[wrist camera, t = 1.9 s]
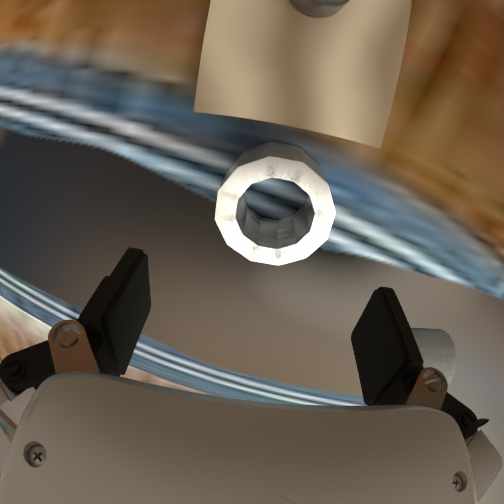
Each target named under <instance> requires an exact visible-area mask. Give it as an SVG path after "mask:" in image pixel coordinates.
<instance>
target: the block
mask: <svg viewBox="0 0 504 504" xmlns="http://www.w3.org/2000/svg"><path fill="white" fill-rule="evenodd" d="M411 4H412V0H350V1H349V2H348V3H347V4H345V5H344V6H343V7H342V8H341V9H340V10H339V11H338V12H337V13H336V14H334V15H332V16H330V17H325V18H314V17H309V16H306V15H304V14H302V13H300V12H299V11H297V10H296V9H295V8H294V7H293V6H292V5H291V3H290V2H289V0H211V2H210V7H209V13H208V18H207V23H206V29H205V35H204V41H203V47H202V53H201V60H200V66H199V73H198V81H197V88H196V96H195V104H194V112H199V113H209V114H217V115H225V116H233V117H240V118H247V119H253V120H259V121H265V122H271V123H276V124H282V125H287V126H292V127H297V128H301V129H306V130H310V131H315V132H319V133H323V134H328V135H332V136H336V137H340V138H343V139H347V140H351V141H355V142H358V143H362V144H365V145H369V146H372V147H375V148H379V149H381V145H382V142H383V138H384V134H385V131H386V127H387V123H388V119H389V116H390V112H391V108H392V104H393V100H394V95H395V91H396V87H397V82H398V78H399V73H400V68H401V63H402V58H403V53H404V48H405V42H406V37H407V31H408V25H409V18H410V11H411Z"/></svg>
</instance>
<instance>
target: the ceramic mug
mask: <svg viewBox="0 0 504 504" xmlns="http://www.w3.org/2000/svg"><path fill="white" fill-rule="evenodd" d="M411 330H412V333H413V335H414V338H415V340H416V343H417V345H418V348H419V350H420V353H421V356H422V358H423V361H424V363H423V367H424V368H426V367H433V368H436V369H438V370H439V371H440V372H442V373H443V375H444V376H445V378H446V380H447V383H448V386H449V384H450V382H451V380H452V378H453V375H454V372H455V366H456V351H455V346H454V343H453V340H452V338H451V337H450V335H449V334H448V333H447V332H446V331H444V330H441V329H425V328H411Z"/></svg>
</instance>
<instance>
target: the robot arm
mask: <svg viewBox="0 0 504 504" xmlns="http://www.w3.org/2000/svg"><path fill="white" fill-rule="evenodd" d="M150 308H151V298H150V285H149V271H148V256H147V254H144V252H143V250H142V249H135V248H128V249H127V251H126V252H125V254H124V255H123V257H122V258H121V260H120V261H119V263H118V264H117V266H116V267H115V269H114V270H113V272H112V274H111V275H110V276H106V277H105V278H104V279H103V280H102V281H101V283H100V284H99V286H98V288H97V289H96V291H95V292H94V294H93V295H92V297H91V298H90V300H89V302H88V303H87V305H86V307H85V308H84V310H83V311H82V313H81V315H80V316H79V318H78V320H77V321H74V320H64V321H61V322H59V323H57V324H55V325H54V326H53V327H52V328H51V330H50V332H49V335H48V340H47V341H44V342H42V343H39V344H36V345H34V346H31V347H28V348H26V349H23V350H20V351H18V352H15V353H12V354H10V355H8V356H6V357H5V358H4V359H3V360H2V362H1V364H0V504H478V502H479V500H480V499H481V498H482V496H483V495H484V494H485V492H486V491H487V489H488V488H489V487H490V485H491V484H492V482H493V481H494V479H495V478H496V476H497V475H498V473H499V471H500V470H501V467H502V458H501V456H500V454H499V453H498V451H497V450H496V448H495V447H494V446H493V444H492V443H491V442H490V441H489V439H488V438H487V437H486V435H485V434H484V433H483V431H482V430H479V431H478V430H477V429H478V420H477V417H476V415H475V414H474V413H473V412H472V411H471V410H470V409H469V408H468V407H466V406H465V405H464V404H462V403H461V402H459V401H458V400H457V399H456V398H454V397H453V396H451V395H450V394H449V393H448V392H447V388H448V383H447V380H446V378H445V376H444V375H443V373H442V372H440V371H439V370H438V369H436V368H433V367H426V368H424V367H423V363H424V361H423V358H422V356H421V353H420V350H419V348H418V345H417V343H416V340H415V338H414V335H413V333H412V330H411V328H410V326H409V323H408V321H407V319H406V316H405V314H404V312H403V309H402V307H401V305H400V303H399V301H398V298H397V296H396V294H395V292H394V290H393V289H392V288H387V287H379V288H378V290H375V291H374V292H373V294H372V296H371V298H370V300H369V302H368V304H367V306H366V308H365V310H364V312H363V313H362V316H361V317H360V319H359V321H358V323H357V325H356V326H355V328H354V330H353V332H352V335H351V341H352V346H353V350H354V355H355V359H356V364H357V369H358V373H359V378H360V383H361V388H362V393H363V398H364V403H365V404H367V405H368V406H322V405H299V404H283V403H271V402H260V401H251V400H242V399H234V398H227V397H220V396H213V395H207V394H201V393H195V392H189V391H184V390H179V389H174V388H169V387H164V386H159V385H154V384H150V383H145V382H141V381H137V380H132V379H128V378H123V377H120V375H124V374H125V372H126V370H127V367H128V365H129V362H130V359H131V357H132V354H133V352H134V349H135V346H136V344H137V341H138V339H139V336H140V334H141V331H142V329H143V326H144V324H145V322H146V319H147V317H148V314H149V311H150ZM17 425H18V426H17Z"/></svg>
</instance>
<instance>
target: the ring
mask: <svg viewBox="0 0 504 504" xmlns="http://www.w3.org/2000/svg"><path fill="white" fill-rule="evenodd" d="M272 177H273V178H278V179H283V180H288V181H293V182H295V183H296V184H297V185H298V186H299V187H301V188H302V189H303V190H304V191H305V192H307V193H308V194H307V198H306V201H305V205H304V206H303V207H302V208H301V209H300V210H299V211H298V212H296V213H295V214H294V215H293V216H290V217H287V218H284V219H280V220H273V219H267V218H262V217H260V216H259V215H257V214H256V213H255V212H253V211H252V210H251V209H249V208H248V206H247V204H246V201H245V199H244V197H243V193H244V192H245V191H246V189H247V188H248V187H249V186H250V185H251V184H253V183H256V182H259V181H262V180H265V179H268V178H272ZM335 214H336V211H335V208H334V204H333V200H332V197H331V193H330V190H329V186H328V183H327V181H326V179H325V177H324V174H323V172H322V170H321V168H320V166H319V164H318V163H317V162H316V161H314V160H313V159H312V158H311V157H310V156H309V155H308V154H307V153H305V152H304V151H303V150H302V149H301V148H300V147H298V146H293V145H288V144H283V143H278V142H273V141H270V142H267V143H264V144H261V145H258V146H255V147H252V148H249V149H247V150H245V151H244V152H243V153H242V154H241V155H240V156H239V158H238V159H237V160H236V161H235V162H234V164H233V165H232V166H231V167H230V168H229V170H228V171H227V173H226V175H225V177H224V179H223V182H222V184H221V186H220V188H219V190H218V196H217V205H216V214H215V221H216V223H217V225H218V227H219V229H220V231H221V233H222V235H223V237H224V239H225V241H226V243H227V245H229V246H230V247H232V248H233V249H234V250H236V251H237V252H239V253H240V254H242V255H243V256H244V257H246V258H247V259H249V260H250V261H255V262H261V263H267V264H273V265H282V264H286V263H290V262H293V261H297V260H300V259H305V258H307V257H308V256H309V255H310V254H311V253H313V252H314V251H315V250H316V249H317V248H318V247H319V246H320V245H322V244H323V243H324V242H325V241H326V240H327V239H328V236H329V233H330V229H331V226H332V223H333V220H334V217H335Z"/></svg>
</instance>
